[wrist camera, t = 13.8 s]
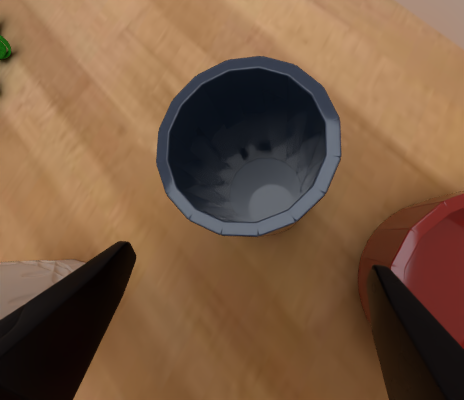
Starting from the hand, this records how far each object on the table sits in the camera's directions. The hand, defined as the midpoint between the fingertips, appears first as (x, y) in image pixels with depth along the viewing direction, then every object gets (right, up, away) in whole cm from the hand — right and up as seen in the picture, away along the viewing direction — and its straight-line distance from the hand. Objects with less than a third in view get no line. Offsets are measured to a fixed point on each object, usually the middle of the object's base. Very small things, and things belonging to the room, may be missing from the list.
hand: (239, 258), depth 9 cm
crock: (+3, +3, +11) cm, 12 cm away
